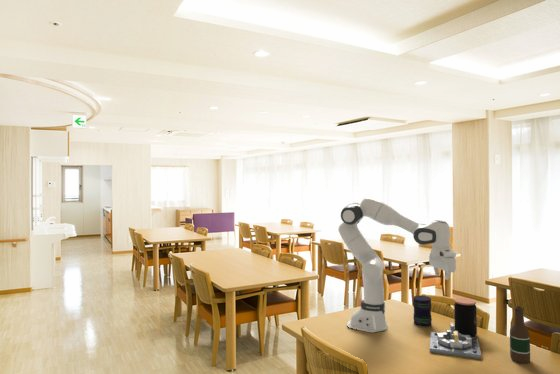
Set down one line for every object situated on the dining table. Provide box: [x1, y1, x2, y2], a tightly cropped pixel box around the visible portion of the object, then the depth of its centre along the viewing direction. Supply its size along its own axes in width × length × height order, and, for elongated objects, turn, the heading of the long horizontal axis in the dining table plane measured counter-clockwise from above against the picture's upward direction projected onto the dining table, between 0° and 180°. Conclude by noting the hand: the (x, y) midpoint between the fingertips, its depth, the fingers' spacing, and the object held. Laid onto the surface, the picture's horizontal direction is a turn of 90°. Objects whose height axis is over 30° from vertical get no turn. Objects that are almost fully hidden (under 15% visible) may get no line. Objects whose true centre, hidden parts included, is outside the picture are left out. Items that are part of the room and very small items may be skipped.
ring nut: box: [436, 322, 472, 349], centre depth 191 cm, size 18×15×6 cm
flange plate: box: [429, 331, 482, 360], centre depth 191 cm, size 22×22×6 cm
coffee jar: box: [453, 297, 478, 337], centre depth 206 cm, size 11×11×18 cm
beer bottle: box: [509, 305, 531, 364], centre depth 175 cm, size 8×8×24 cm
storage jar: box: [412, 295, 433, 328], centre depth 223 cm, size 10×10×15 cm
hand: (441, 277), depth 204 cm, fingers open, 8 cm apart
